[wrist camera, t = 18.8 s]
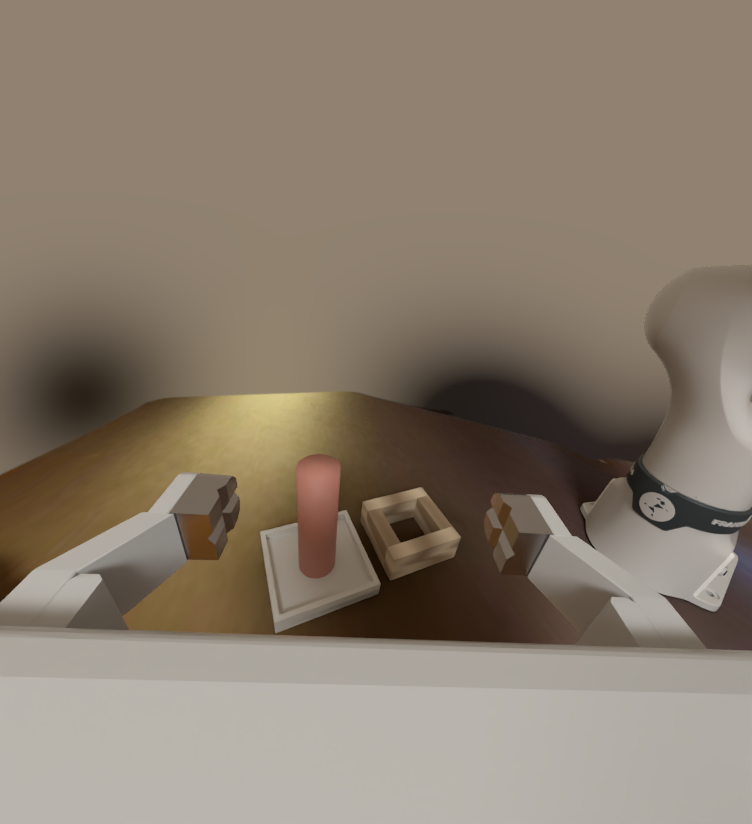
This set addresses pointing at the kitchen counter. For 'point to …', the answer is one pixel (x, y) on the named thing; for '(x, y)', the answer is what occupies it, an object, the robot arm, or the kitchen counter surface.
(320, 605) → the tray
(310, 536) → the dowel
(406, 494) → the socket block
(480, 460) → the kitchen counter surface
